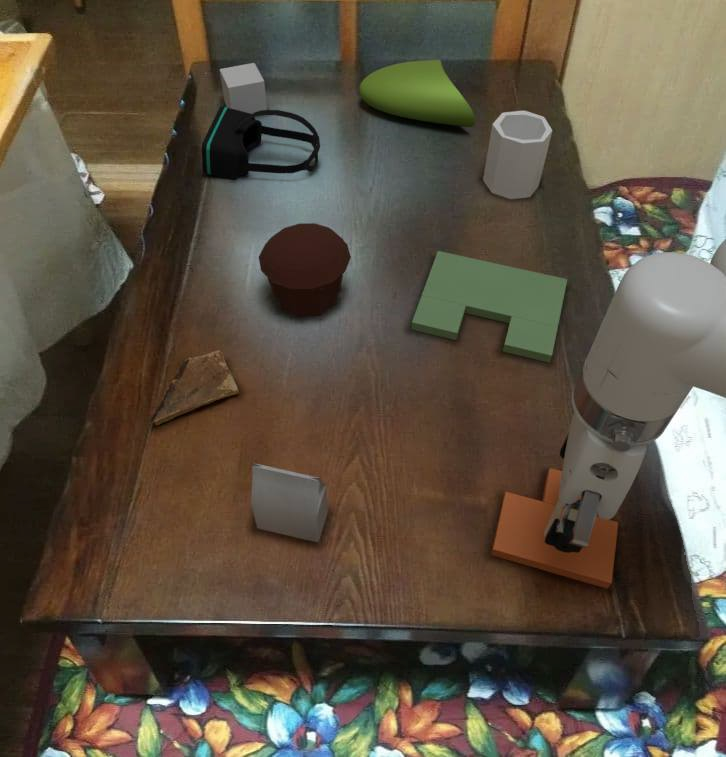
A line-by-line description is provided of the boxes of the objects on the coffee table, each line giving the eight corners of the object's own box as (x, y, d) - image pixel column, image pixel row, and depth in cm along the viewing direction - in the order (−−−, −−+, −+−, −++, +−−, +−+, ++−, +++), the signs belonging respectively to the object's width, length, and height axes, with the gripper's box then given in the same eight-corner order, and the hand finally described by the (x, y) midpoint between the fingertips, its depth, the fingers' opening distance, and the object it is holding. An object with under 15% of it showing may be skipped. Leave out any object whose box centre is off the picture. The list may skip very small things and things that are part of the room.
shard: (152, 429, 85) (149, 420, 84) (135, 382, 89) (131, 373, 88) (240, 397, 88) (239, 388, 87) (220, 352, 92) (217, 343, 91)
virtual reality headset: (222, 133, 120) (220, 78, 112) (323, 155, 120) (329, 101, 112) (202, 175, 113) (199, 119, 105) (309, 198, 113) (314, 144, 105)
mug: (538, 202, 111) (552, 146, 103) (481, 195, 112) (490, 140, 104) (539, 155, 118) (552, 99, 110) (486, 149, 119) (495, 93, 111)
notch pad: (565, 286, 100) (567, 279, 99) (549, 363, 92) (552, 355, 91) (436, 258, 103) (437, 250, 102) (410, 329, 95) (411, 322, 94)
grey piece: (318, 542, 77) (314, 496, 69) (257, 528, 78) (246, 481, 70) (327, 512, 79) (325, 464, 71) (268, 498, 80) (258, 449, 72)
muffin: (281, 335, 94) (274, 280, 86) (251, 279, 100) (242, 223, 92) (364, 307, 97) (365, 251, 89) (331, 254, 103) (329, 197, 95)
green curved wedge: (482, 48, 120) (361, 45, 123) (476, 102, 115) (350, 98, 118) (479, 86, 127) (366, 83, 130) (474, 139, 122) (355, 135, 125)
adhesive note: (233, 121, 123) (228, 87, 118) (224, 102, 126) (219, 69, 121) (267, 113, 124) (264, 80, 119) (258, 95, 128) (254, 62, 123)
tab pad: (618, 493, 81) (639, 458, 75) (607, 589, 74) (629, 558, 68) (510, 464, 83) (522, 428, 77) (490, 555, 76) (502, 522, 70)
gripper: (668, 505, 51) (597, 596, 64) (680, 327, 61) (616, 438, 75) (561, 475, 52) (513, 570, 66) (589, 305, 62) (543, 419, 76)
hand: (568, 500), depth 70 cm, fingers open, 9 cm apart
